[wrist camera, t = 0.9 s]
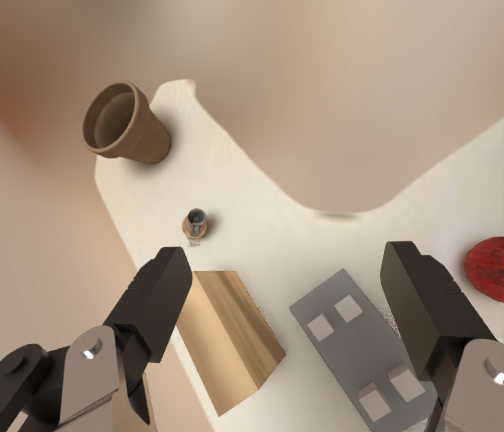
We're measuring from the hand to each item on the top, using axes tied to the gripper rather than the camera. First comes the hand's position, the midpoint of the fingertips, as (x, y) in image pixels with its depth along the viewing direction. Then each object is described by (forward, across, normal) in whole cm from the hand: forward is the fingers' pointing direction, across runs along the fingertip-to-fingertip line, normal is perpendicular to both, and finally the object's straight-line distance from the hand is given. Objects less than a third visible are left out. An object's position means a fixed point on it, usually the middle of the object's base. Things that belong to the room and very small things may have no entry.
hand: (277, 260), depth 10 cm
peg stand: (+8, -7, +21) cm, 24 cm away
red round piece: (+13, -19, +14) cm, 27 cm away
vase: (+22, +13, +14) cm, 29 cm away
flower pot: (+34, +23, +5) cm, 42 cm away
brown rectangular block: (+12, +6, +22) cm, 26 cm away
